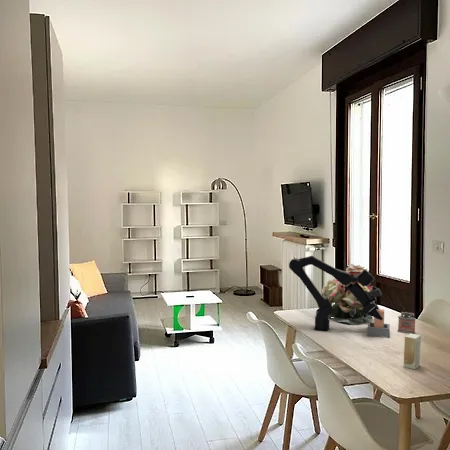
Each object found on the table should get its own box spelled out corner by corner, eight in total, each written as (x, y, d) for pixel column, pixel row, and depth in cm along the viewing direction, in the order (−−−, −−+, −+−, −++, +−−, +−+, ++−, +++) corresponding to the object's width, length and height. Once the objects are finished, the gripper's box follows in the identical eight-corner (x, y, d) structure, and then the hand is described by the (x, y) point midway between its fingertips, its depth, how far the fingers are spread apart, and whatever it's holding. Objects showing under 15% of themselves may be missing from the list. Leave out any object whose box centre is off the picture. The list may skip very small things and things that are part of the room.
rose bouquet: (314, 316, 273) (315, 262, 272) (356, 312, 286) (357, 260, 284) (344, 327, 250) (346, 268, 249) (388, 322, 263) (390, 266, 261)
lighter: (397, 332, 244) (398, 311, 243) (398, 330, 247) (399, 310, 246) (414, 334, 240) (415, 314, 240) (415, 332, 243) (416, 312, 243)
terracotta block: (373, 333, 238) (374, 310, 238) (373, 331, 243) (374, 308, 242) (383, 334, 237) (384, 311, 236) (383, 332, 241) (384, 309, 241)
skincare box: (408, 363, 197) (410, 332, 196) (420, 365, 194) (421, 334, 194) (402, 367, 192) (404, 336, 191) (414, 369, 189) (415, 338, 189)
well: (367, 335, 237) (367, 327, 236) (368, 330, 246) (368, 322, 246) (389, 337, 234) (389, 329, 233) (389, 332, 243) (389, 324, 243)
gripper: (371, 285, 231) (395, 311, 228) (372, 279, 249) (394, 303, 246) (353, 300, 234) (376, 326, 231) (355, 293, 251) (377, 317, 249)
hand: (382, 317), depth 239 cm, fingers open, 9 cm apart
